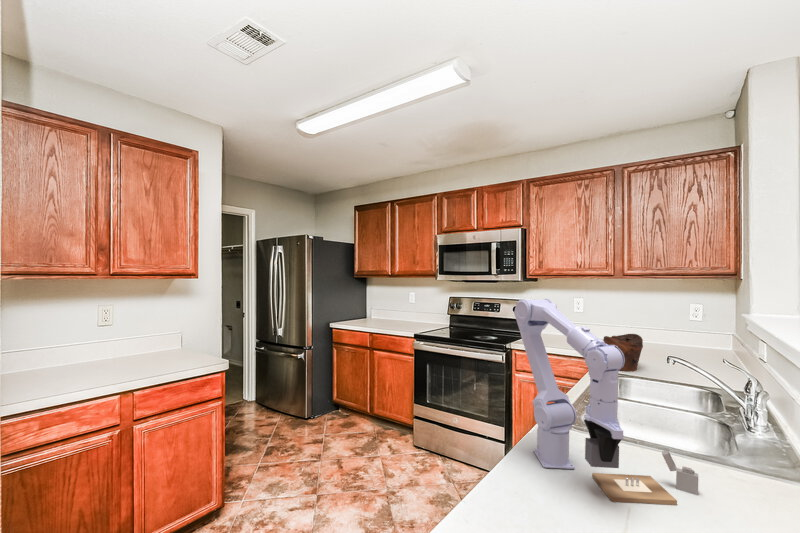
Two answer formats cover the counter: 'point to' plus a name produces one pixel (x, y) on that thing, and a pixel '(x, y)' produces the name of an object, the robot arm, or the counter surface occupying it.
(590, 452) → the block
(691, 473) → the lighter
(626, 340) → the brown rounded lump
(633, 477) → the board
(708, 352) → the counter surface
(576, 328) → the robot arm
